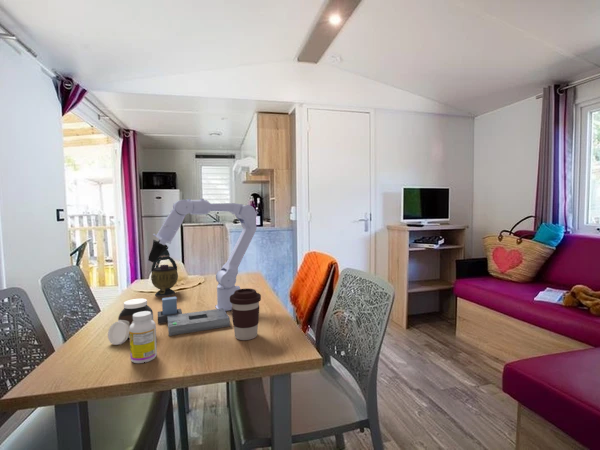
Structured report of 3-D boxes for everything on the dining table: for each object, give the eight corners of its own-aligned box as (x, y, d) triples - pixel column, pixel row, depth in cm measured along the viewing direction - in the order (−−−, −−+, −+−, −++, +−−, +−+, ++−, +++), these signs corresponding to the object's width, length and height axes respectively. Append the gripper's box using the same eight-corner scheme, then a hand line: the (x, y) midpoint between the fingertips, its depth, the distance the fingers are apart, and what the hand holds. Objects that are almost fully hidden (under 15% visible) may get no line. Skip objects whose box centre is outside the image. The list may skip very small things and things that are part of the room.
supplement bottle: (136, 353, 94) (134, 310, 93) (160, 352, 94) (158, 309, 93) (126, 365, 87) (124, 318, 86) (151, 363, 88) (149, 317, 87)
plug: (176, 317, 125) (176, 296, 124) (177, 319, 122) (176, 298, 121) (162, 318, 123) (162, 298, 122) (162, 321, 120) (162, 300, 119)
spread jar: (156, 330, 111) (155, 297, 110) (146, 344, 100) (145, 307, 99) (118, 333, 109) (116, 299, 108) (104, 347, 98) (102, 309, 97)
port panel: (223, 315, 125) (223, 307, 125) (229, 326, 114) (229, 317, 114) (167, 323, 117) (167, 314, 117) (168, 336, 106) (168, 326, 106)
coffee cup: (266, 332, 109) (265, 288, 108) (252, 344, 99) (251, 296, 98) (240, 328, 112) (239, 286, 111) (224, 340, 103) (223, 293, 102)
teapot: (179, 288, 167) (177, 244, 166) (177, 302, 144) (175, 250, 142) (153, 290, 164) (152, 245, 162) (147, 305, 140) (145, 251, 139)
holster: (181, 314, 127) (181, 308, 127) (182, 320, 121) (182, 313, 121) (157, 318, 123) (157, 311, 123) (157, 323, 118) (157, 316, 117)
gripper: (159, 222, 128) (141, 253, 126) (160, 223, 115) (139, 257, 112) (176, 231, 131) (158, 261, 128) (178, 232, 117) (159, 266, 115)
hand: (150, 260), depth 120 cm, fingers open, 7 cm apart
